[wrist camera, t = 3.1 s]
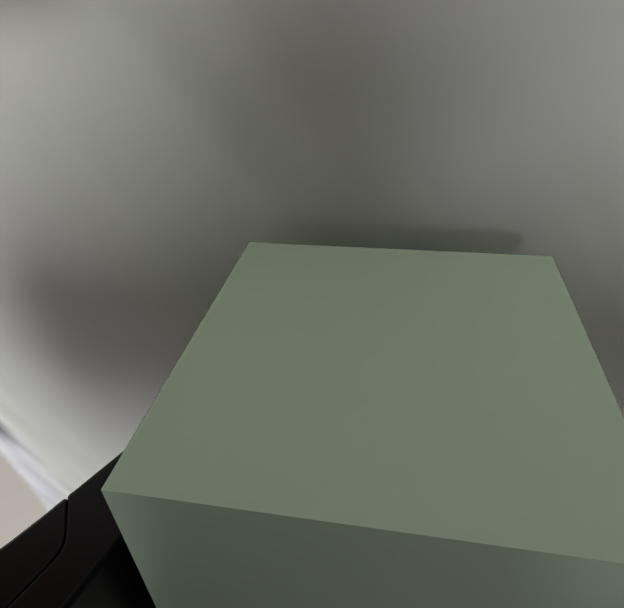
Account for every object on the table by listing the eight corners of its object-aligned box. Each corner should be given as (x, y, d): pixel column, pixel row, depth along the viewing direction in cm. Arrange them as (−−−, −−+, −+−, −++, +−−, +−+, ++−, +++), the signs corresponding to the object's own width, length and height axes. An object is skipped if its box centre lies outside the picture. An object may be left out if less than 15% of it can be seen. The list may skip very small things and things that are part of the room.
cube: (498, 459, 11) (546, 763, 7) (273, 434, 12) (195, 690, 7) (552, 256, 8) (692, 572, 4) (248, 241, 9) (100, 490, 5)
